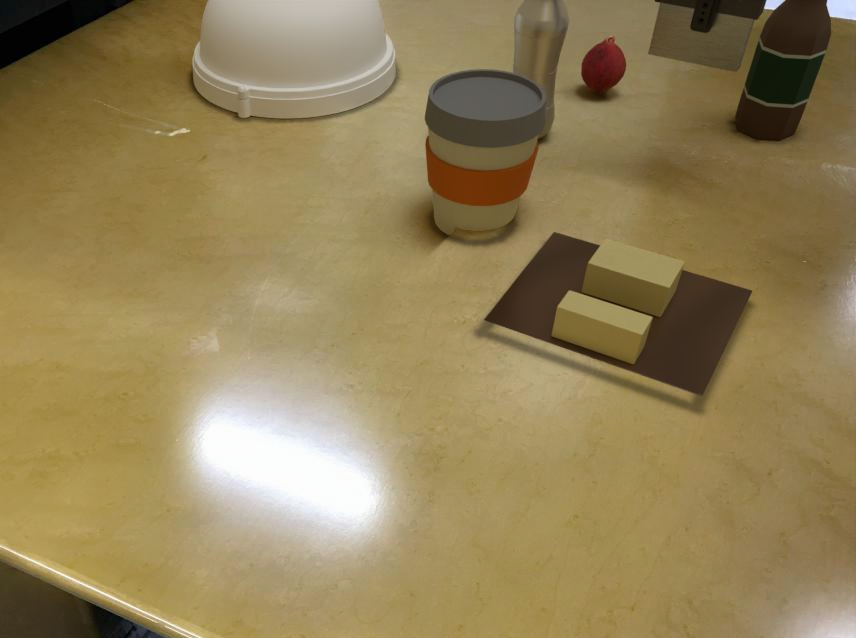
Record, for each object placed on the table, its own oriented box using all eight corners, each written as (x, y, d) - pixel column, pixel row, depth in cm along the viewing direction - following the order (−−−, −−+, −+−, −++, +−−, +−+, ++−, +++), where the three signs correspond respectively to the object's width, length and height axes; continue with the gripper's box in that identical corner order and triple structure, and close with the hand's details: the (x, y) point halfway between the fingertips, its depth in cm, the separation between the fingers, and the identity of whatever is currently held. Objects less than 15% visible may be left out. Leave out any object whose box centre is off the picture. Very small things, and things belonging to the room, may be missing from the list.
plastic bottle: (525, 151, 114) (549, -13, 100) (489, 130, 118) (508, -30, 104) (561, 137, 116) (590, -25, 103) (525, 117, 121) (549, -41, 107)
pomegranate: (599, 106, 122) (611, 48, 117) (567, 92, 126) (578, 34, 120) (628, 94, 125) (641, 37, 119) (596, 80, 128) (607, 24, 123)
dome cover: (257, 19, 148) (251, -74, 138) (428, 47, 138) (434, -51, 128) (149, 98, 128) (133, -4, 118) (340, 138, 118) (340, 30, 108)
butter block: (675, 291, 90) (685, 261, 87) (660, 317, 87) (669, 287, 84) (598, 267, 93) (605, 237, 91) (581, 292, 90) (587, 262, 88)
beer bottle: (721, 117, 119) (781, -81, 103) (775, 110, 120) (843, -86, 104) (751, 144, 114) (820, -60, 97) (808, 137, 115) (886, -66, 98)
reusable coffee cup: (511, 260, 97) (530, 131, 86) (402, 235, 101) (408, 109, 90) (541, 203, 105) (562, 78, 95) (439, 182, 109) (448, 60, 99)
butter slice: (644, 347, 84) (653, 316, 81) (633, 365, 82) (642, 334, 80) (562, 319, 87) (569, 289, 85) (550, 336, 85) (556, 306, 83)
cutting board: (748, 302, 91) (753, 290, 90) (697, 408, 80) (702, 396, 79) (551, 242, 99) (553, 231, 98) (481, 331, 88) (483, 319, 87)
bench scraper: (745, 67, 101) (770, -11, 95) (740, 75, 99) (764, -4, 93) (648, 48, 105) (666, -28, 99) (641, 55, 104) (659, -21, 98)
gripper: (777, -133, 82) (721, 55, 94) (808, -166, 90) (754, 11, 102) (694, -142, 85) (650, 41, 97) (732, -173, 93) (687, -1, 105)
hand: (704, 25), depth 99 cm, fingers closed on bench scraper, 2 cm apart
